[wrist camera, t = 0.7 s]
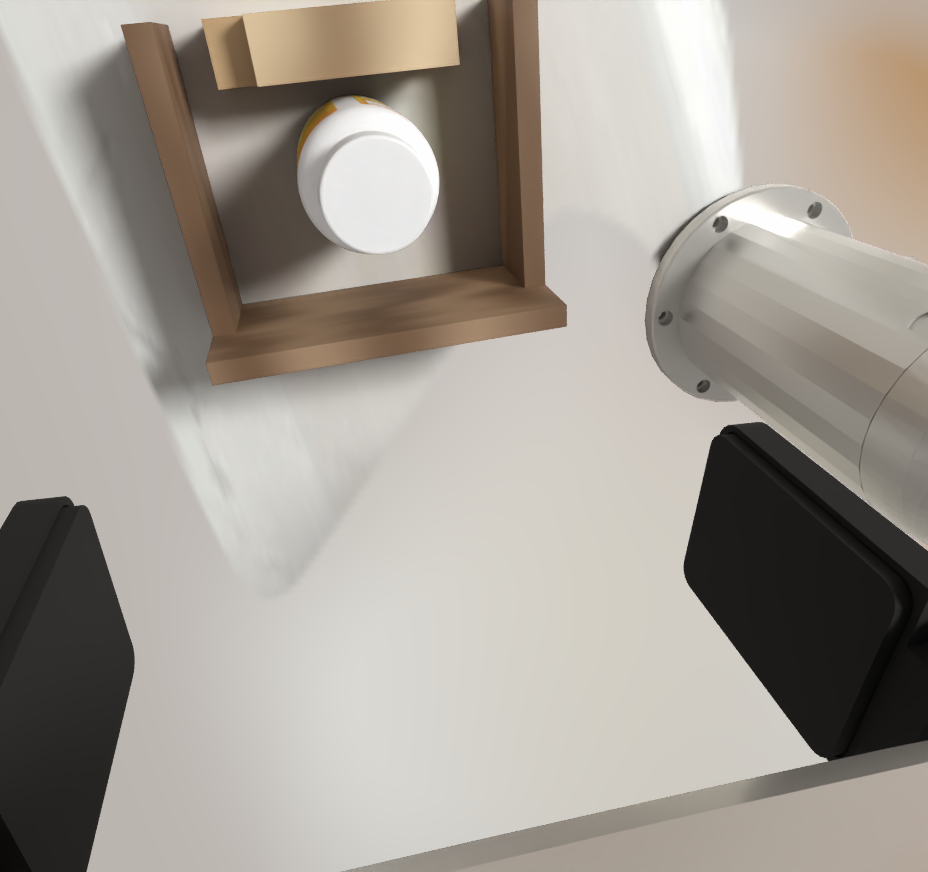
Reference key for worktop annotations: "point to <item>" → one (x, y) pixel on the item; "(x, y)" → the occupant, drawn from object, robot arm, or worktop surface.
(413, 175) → the supplement bottle
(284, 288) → the worktop surface
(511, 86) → the frame
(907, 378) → the robot arm
